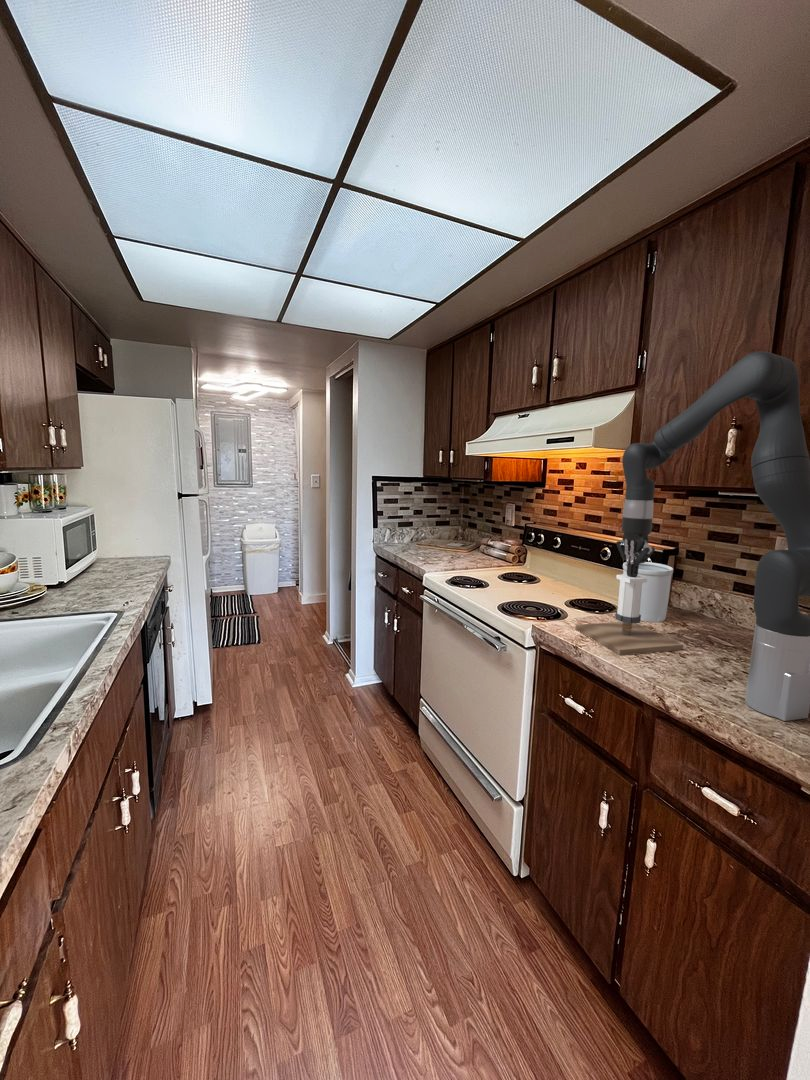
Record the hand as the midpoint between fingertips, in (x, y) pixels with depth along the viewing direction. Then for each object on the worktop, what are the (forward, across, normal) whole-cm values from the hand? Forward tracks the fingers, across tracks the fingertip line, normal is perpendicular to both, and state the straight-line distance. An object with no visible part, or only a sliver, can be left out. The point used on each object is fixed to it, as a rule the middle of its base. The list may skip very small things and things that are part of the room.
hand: (631, 576), depth 127 cm
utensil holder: (+19, +18, -21) cm, 34 cm away
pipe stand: (+19, 0, 0) cm, 19 cm away
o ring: (+13, 0, 0) cm, 13 cm away
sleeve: (+11, 0, 0) cm, 11 cm away
